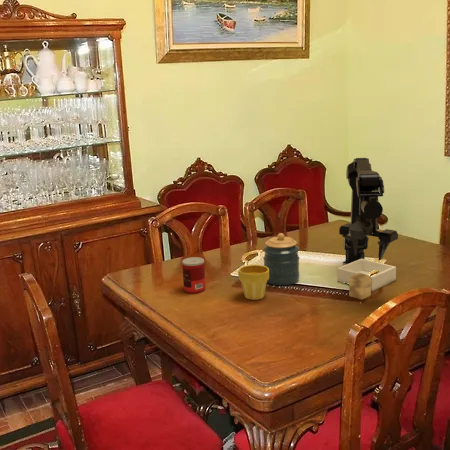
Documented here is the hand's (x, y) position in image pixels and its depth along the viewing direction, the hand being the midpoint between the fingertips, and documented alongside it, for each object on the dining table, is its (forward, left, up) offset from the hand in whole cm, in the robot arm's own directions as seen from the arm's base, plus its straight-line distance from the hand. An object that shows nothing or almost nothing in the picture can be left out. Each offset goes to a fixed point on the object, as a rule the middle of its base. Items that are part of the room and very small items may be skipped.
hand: (367, 257), depth 194 cm
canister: (-31, -8, -13) cm, 35 cm away
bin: (-8, +11, -13) cm, 18 cm away
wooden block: (-1, -2, -13) cm, 13 cm away
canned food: (-47, -36, -13) cm, 61 cm away
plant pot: (-27, -26, -13) cm, 40 cm away
